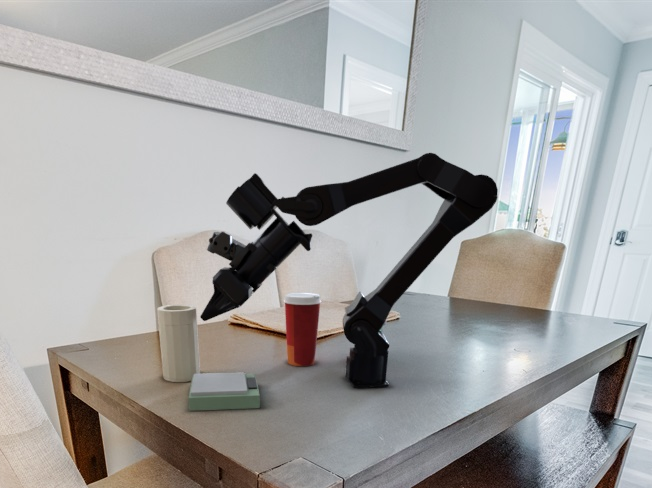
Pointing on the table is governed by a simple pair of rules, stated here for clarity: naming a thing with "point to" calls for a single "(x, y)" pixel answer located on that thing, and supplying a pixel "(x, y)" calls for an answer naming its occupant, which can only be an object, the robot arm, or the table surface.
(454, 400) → the table surface
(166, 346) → the canister
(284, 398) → the table surface
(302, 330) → the paper cup
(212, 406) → the scale
